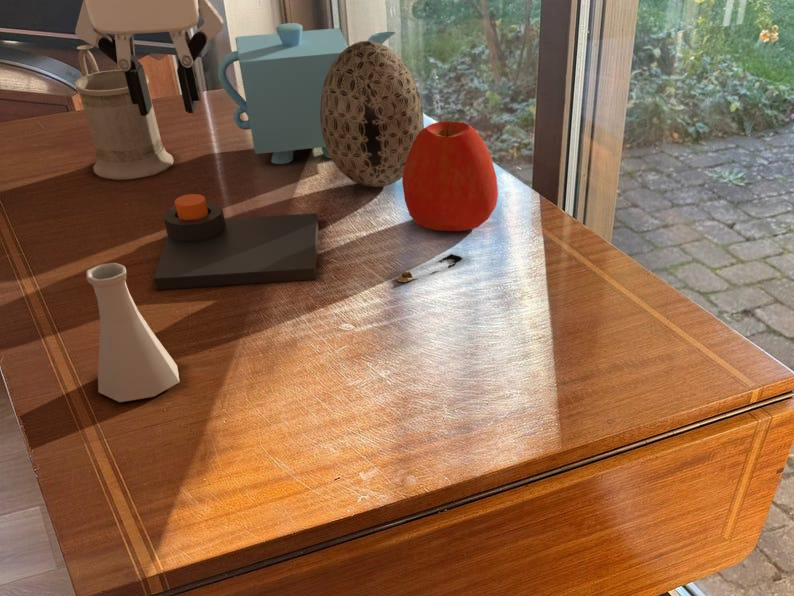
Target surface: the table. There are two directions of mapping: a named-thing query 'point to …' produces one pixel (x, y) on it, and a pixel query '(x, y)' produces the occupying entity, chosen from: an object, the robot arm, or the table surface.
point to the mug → (119, 125)
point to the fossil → (407, 273)
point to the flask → (127, 342)
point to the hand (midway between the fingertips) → (168, 108)
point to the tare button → (191, 207)
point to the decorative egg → (370, 114)
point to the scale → (237, 250)
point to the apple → (449, 178)
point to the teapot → (285, 86)
